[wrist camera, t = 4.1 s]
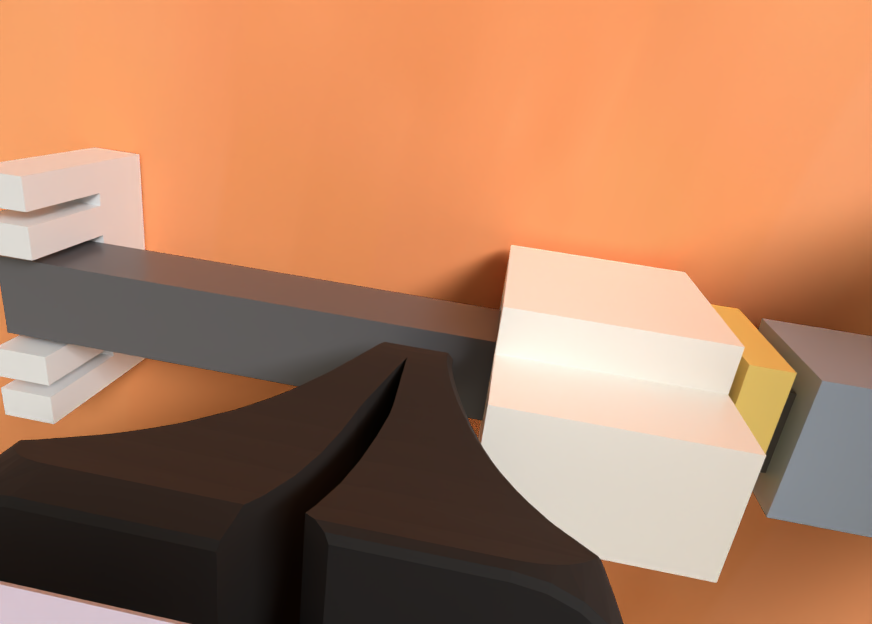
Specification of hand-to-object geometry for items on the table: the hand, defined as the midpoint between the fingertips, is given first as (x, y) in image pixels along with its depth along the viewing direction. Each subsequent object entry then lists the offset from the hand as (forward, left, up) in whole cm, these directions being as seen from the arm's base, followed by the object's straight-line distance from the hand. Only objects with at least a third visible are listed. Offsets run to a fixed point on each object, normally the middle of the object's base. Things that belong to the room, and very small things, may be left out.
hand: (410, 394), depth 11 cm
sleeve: (-3, 0, -4) cm, 5 cm away
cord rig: (0, 0, -4) cm, 4 cm away
